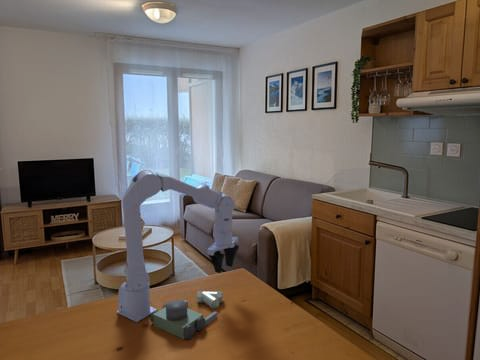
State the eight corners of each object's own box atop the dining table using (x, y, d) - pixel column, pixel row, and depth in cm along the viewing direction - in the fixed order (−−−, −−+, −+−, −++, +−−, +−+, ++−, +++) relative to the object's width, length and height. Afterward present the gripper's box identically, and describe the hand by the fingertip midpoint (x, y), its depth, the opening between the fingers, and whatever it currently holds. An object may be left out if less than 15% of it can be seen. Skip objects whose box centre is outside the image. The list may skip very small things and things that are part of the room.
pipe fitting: (220, 311, 112) (222, 299, 118) (220, 300, 111) (222, 289, 117) (195, 311, 112) (198, 298, 119) (194, 300, 111) (198, 288, 118)
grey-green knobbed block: (150, 324, 103) (149, 303, 102) (184, 303, 115) (183, 285, 114) (186, 341, 95) (186, 319, 94) (219, 317, 107) (218, 297, 106)
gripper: (219, 238, 109) (220, 279, 111) (245, 226, 121) (245, 264, 123) (202, 234, 113) (202, 274, 115) (229, 223, 125) (229, 260, 127)
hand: (223, 269), depth 119 cm, fingers open, 6 cm apart
